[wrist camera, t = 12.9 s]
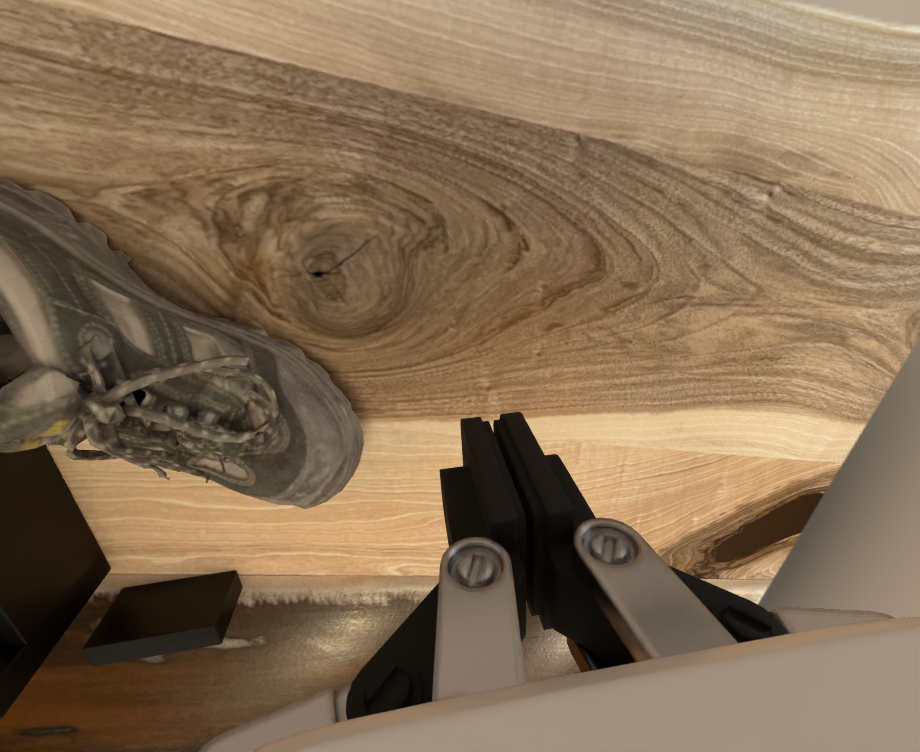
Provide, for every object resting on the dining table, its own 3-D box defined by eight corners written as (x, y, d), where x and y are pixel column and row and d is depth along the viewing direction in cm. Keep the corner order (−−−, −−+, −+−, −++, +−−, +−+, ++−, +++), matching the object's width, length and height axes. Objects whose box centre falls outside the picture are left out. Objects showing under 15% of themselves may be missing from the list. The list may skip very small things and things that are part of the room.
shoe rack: (-194, 130, 17) (-675, 82, 9) (68, 118, 18) (-170, 66, 10) (91, 612, 28) (-21, 771, 20) (242, 587, 29) (190, 729, 21)
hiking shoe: (291, 544, 25) (296, 646, 14) (-105, 326, 20) (-593, 219, 9) (380, 413, 28) (442, 414, 17) (51, 188, 22) (-175, -29, 11)
